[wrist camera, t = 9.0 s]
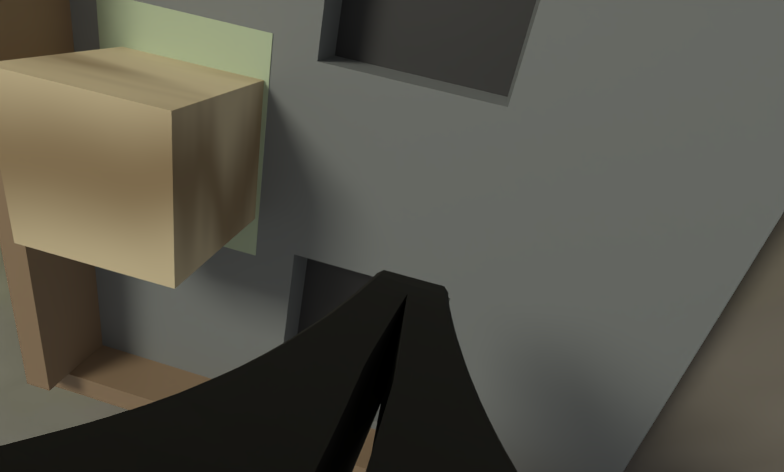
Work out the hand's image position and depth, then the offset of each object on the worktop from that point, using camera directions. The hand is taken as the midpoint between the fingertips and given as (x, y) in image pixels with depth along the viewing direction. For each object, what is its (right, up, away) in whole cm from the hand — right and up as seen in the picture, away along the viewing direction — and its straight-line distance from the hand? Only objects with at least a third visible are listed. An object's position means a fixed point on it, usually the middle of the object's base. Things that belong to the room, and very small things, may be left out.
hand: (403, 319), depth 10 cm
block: (-7, +5, +7) cm, 12 cm away
